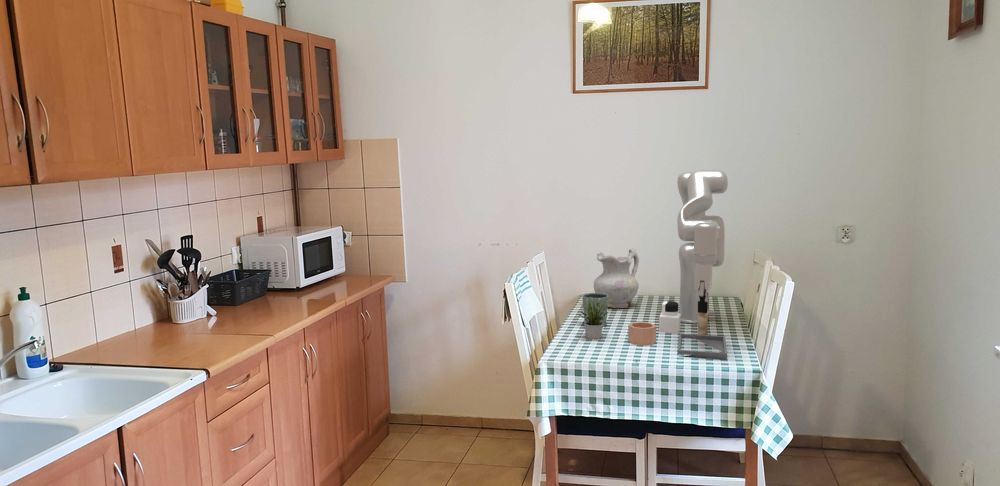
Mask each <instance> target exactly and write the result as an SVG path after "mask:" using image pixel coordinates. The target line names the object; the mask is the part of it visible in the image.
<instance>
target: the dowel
mask: <svg viewBox="0 0 1000 486" xmlns="http://www.w3.org/2000/svg"><path fill="white" fill-rule="evenodd" d="M707 302H708V296H707ZM708 311H709V310H708V309H707V313H698V323H697V335H708V329H709V327H708V325H709V323H708V321H709V315H708Z"/></svg>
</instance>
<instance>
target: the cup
mask: <svg viewBox="0 0 1000 486" xmlns="http://www.w3.org/2000/svg"><path fill="white" fill-rule="evenodd" d="M627 329H628V330H627V331H628V332H627V342H629V343H630V344H632V345H636V346H652V345H654V344H655V343H656V342H657V325H656V324H654V323H652V322H646V321H645V322H644V321H636V322H631V323H629V324H628V328H627Z"/></svg>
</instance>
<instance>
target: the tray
mask: <svg viewBox="0 0 1000 486" xmlns="http://www.w3.org/2000/svg"><path fill="white" fill-rule="evenodd" d="M678 334H679V335H678V343H677V345H678V346H677V355H679V356H677V358H691V359H692V358H693V359H694V358H695V359H703V360H705V359H707V360H721V361H722V360H723V361H727V360H728V349H727V340H726V339H727V338H726V336H725V335H723V336H722V335H708V334H707V335H698V334H693V333H692V334H691V333H690V334H689V333H688V334H687V333H678ZM682 339H694V340H697V341H699V342H701V343H703V344H704V345H708V346H709V347H711V348H712V349H715V350H717V351H705V350H703V351H702V350H689V349H687V350H686V349H681V348H682V347H681V345H682Z"/></svg>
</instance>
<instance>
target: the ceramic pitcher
mask: <svg viewBox="0 0 1000 486" xmlns="http://www.w3.org/2000/svg"><path fill="white" fill-rule="evenodd" d="M636 250H637V249H634V248H630V249H629V250H628V254H627V255H626V256H618V257H616V256H613V255H611V254H610V255H609V254H607V255H604V253H603V252H597V253H596V259H597V261H599V262H601V263H602V267H603V268H602V269H603V271H602V272H601V274H600V275H599V276H597V277H596V278H595V279H594V281H593V291H594V293H603V294H607V295H608V300H611V301H609V302H608V304H607V305H609V306H607V308H611V309H612V308H613V309H626V308H628V307H629V306H630V305H629V303H628V302H631V301H632V300H633V299H634V298H635V297H636V295H637V294H638V290H639V281H638V280H637V279H636V278H635V276H636V274H637V272H638V269H639V264H640V263H639V262H640V259H639V255H638V253H637V252H636ZM632 262H633V267H632V269H631V273H630V267H631V264H632ZM610 304H613V305H610Z"/></svg>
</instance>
